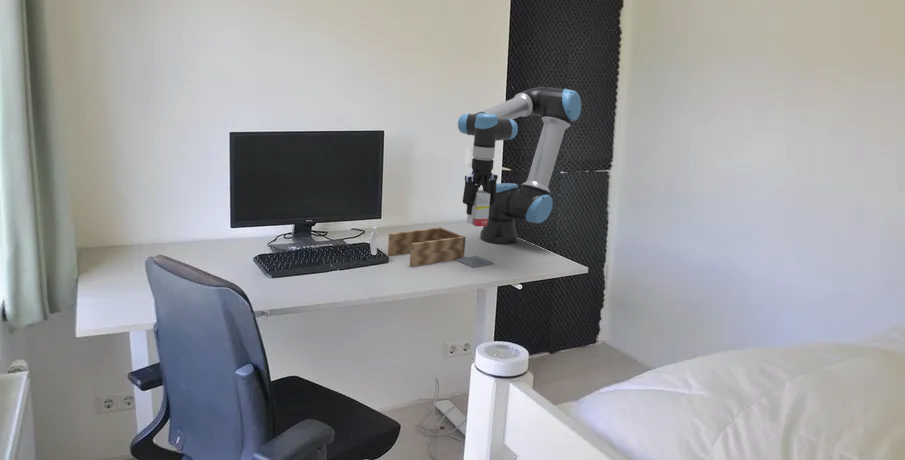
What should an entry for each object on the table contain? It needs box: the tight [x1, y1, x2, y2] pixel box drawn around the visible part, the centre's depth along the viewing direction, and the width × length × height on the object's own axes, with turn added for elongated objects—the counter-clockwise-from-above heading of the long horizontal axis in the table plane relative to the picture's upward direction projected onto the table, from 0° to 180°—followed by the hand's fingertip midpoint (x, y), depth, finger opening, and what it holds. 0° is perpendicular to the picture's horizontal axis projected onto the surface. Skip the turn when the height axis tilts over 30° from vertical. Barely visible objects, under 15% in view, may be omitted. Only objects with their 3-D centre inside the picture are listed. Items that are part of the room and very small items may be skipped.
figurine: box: [364, 225, 380, 255], centre depth 252 cm, size 9×9×12 cm
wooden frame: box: [387, 226, 466, 267], centre depth 259 cm, size 24×15×8 cm, turn 129°
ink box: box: [470, 188, 490, 227], centre depth 252 cm, size 9×5×12 cm, turn 19°
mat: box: [454, 255, 494, 269], centre depth 258 cm, size 10×10×1 cm
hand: (477, 222), depth 254 cm, fingers closed on ink box, 6 cm apart
